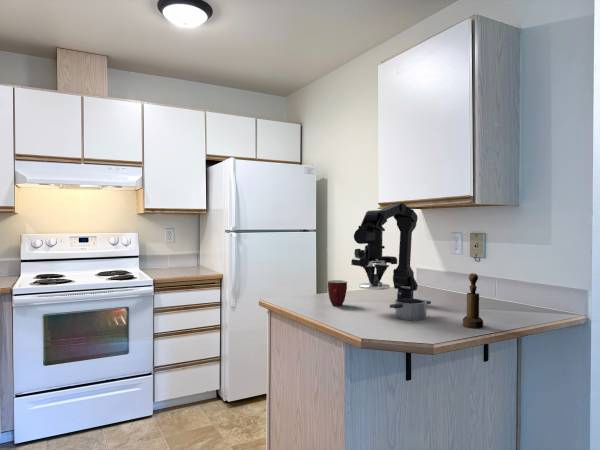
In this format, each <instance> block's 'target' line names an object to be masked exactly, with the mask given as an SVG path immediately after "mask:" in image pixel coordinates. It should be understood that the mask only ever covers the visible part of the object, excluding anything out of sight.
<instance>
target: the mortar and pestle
mask: <svg viewBox="0 0 600 450" xmlns="http://www.w3.org/2000/svg"><path fill="white" fill-rule="evenodd" d="M468 280H469V282H470V285H469V291H470V292H466V315H465V316H464V317H463V318H462V326H463V327H465V328H470V329H482V328H484V320H483V319H482V317H480V293H477V292H476V291H477V287H478V286H477V285H476V284H477V281H478V280H479V276H478V274H476V273H475V272H474V273H473V272H471V273H470V274H469V275H468Z"/></svg>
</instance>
